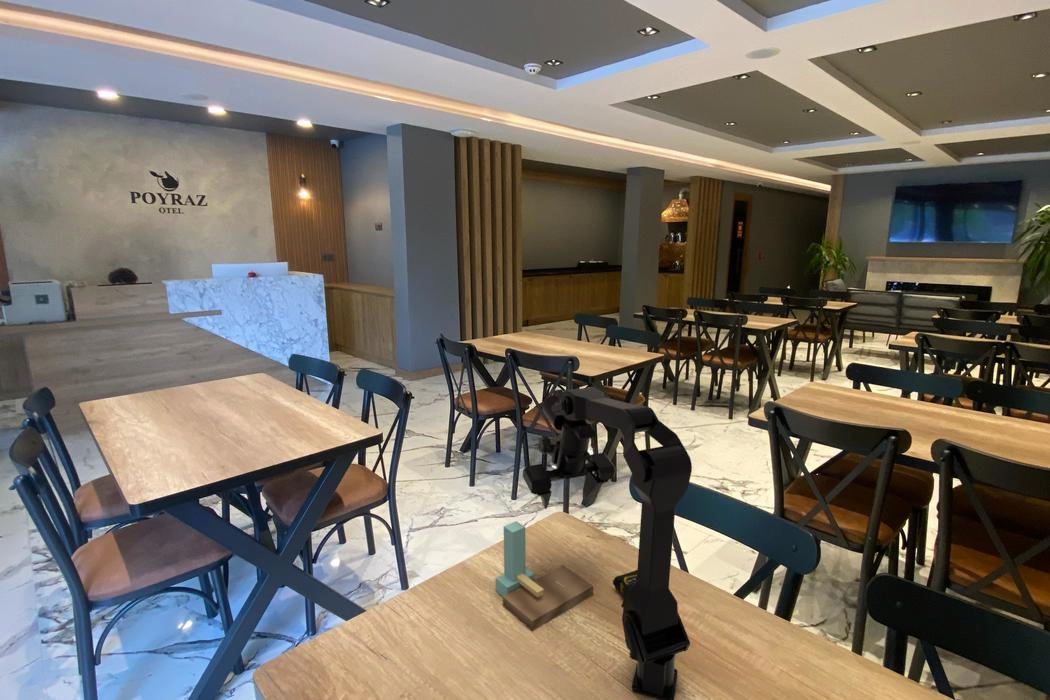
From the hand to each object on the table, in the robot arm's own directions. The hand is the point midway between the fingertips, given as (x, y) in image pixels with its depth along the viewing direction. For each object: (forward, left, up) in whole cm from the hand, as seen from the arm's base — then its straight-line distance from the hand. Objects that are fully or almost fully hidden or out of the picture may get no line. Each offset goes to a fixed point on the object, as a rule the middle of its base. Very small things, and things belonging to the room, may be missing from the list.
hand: (564, 503), depth 113 cm
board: (-11, 0, -15) cm, 19 cm away
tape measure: (-3, -15, -16) cm, 22 cm away
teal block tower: (-12, +5, -15) cm, 20 cm away
